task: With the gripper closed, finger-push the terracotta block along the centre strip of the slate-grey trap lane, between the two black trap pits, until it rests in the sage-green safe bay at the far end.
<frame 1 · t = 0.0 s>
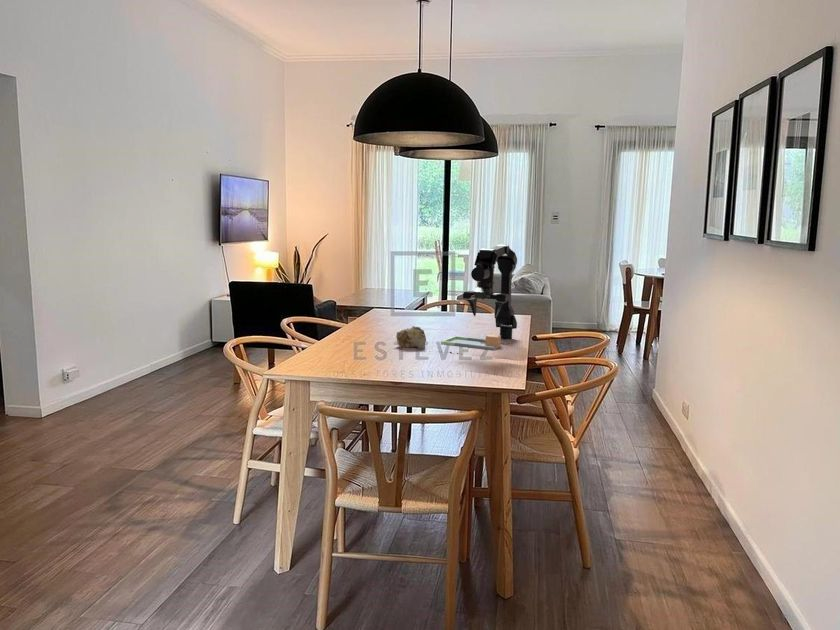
hand: (484, 316, 260), 15 cm above the table, fingers open, 9 cm apart
block: (492, 346, 267), point 1 cm above the table, touching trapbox
rock: (411, 347, 269), on the table
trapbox: (473, 347, 271), on the table
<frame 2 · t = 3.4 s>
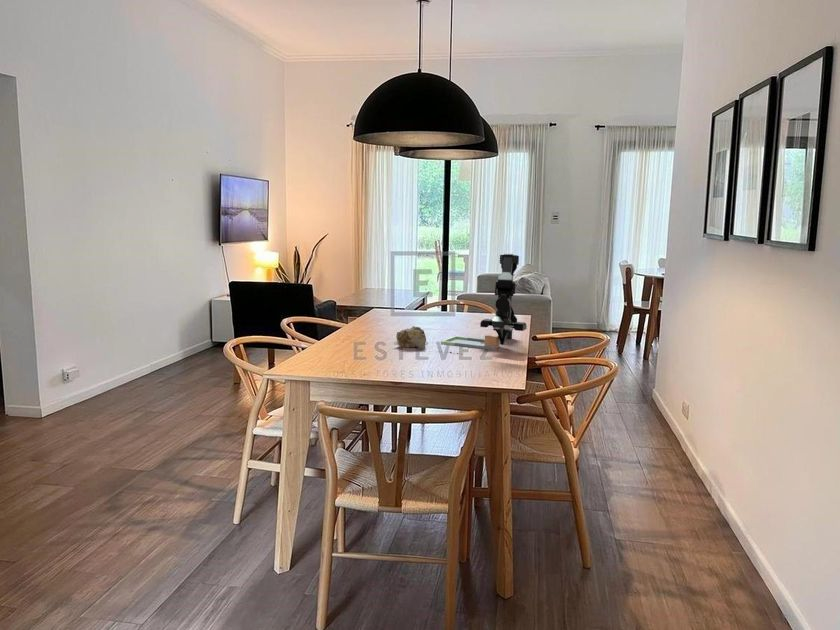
hand: (502, 344, 265), 3 cm above the table, fingers closed
block: (492, 346, 267), point 2 cm above the table, touching gripper, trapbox
everything else where it was.
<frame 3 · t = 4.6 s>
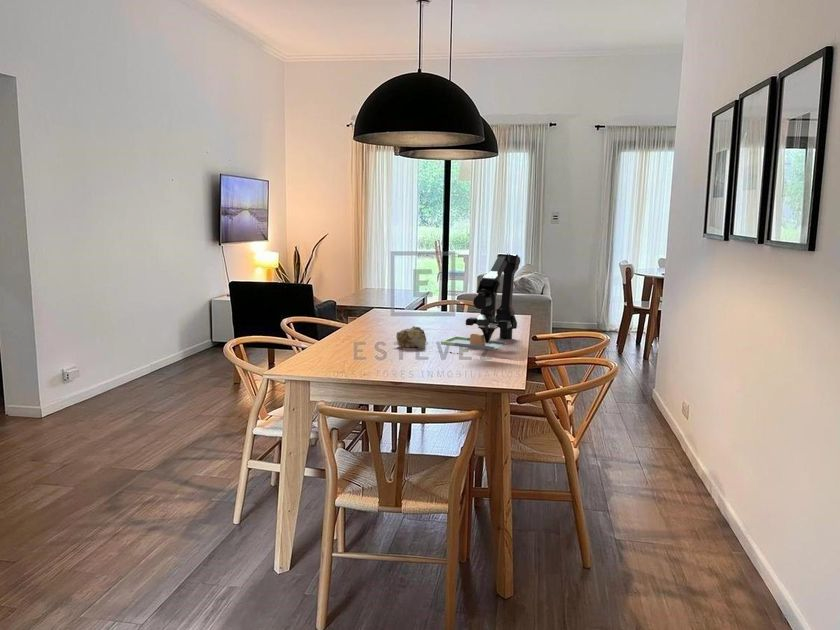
hand: (487, 342, 267), 3 cm above the table, fingers closed
block: (477, 344, 269), point 2 cm above the table, touching gripper, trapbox
everything else where it was.
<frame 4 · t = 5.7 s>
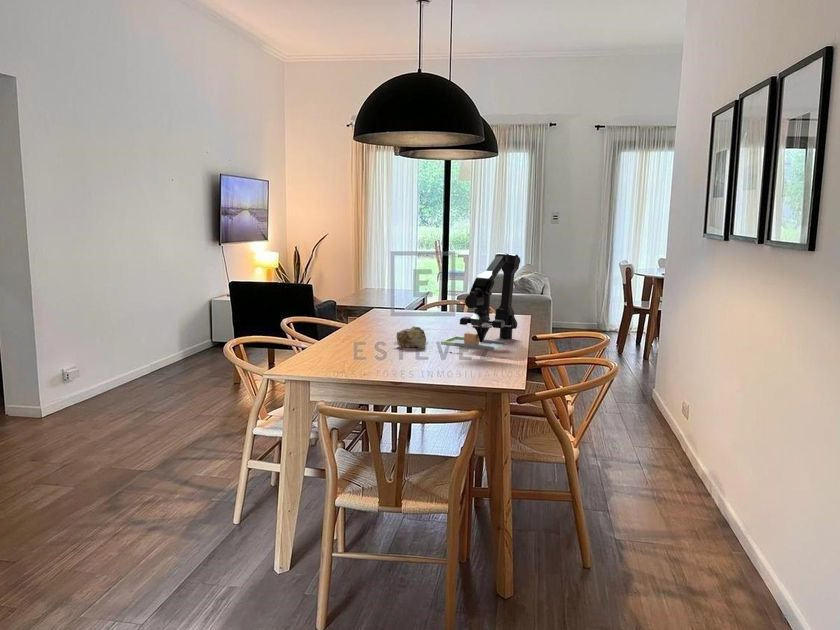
hand: (481, 342, 269), 3 cm above the table, fingers closed
block: (471, 343, 271), point 1 cm above the table, touching gripper, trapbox
everything else where it was.
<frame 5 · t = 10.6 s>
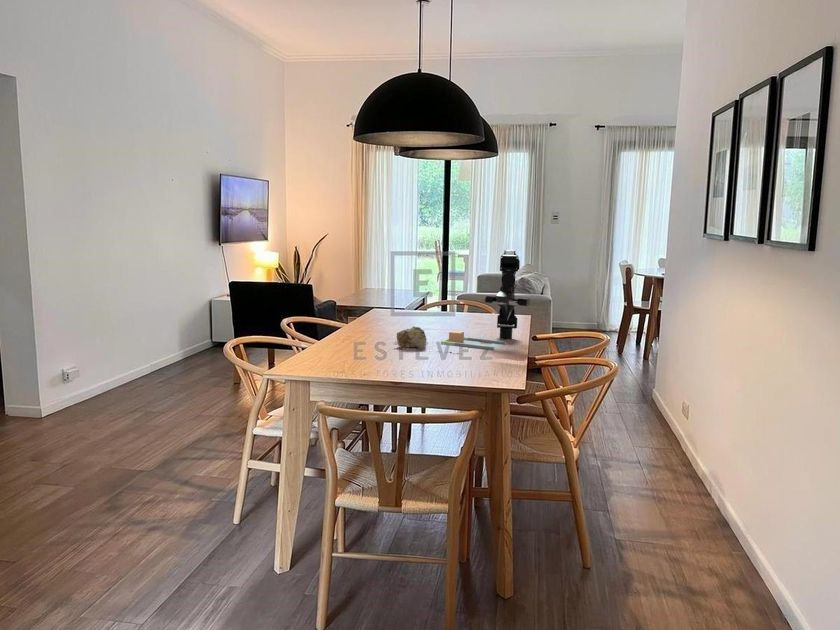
hand: (506, 320, 270), 12 cm above the table, fingers closed
block: (456, 342, 274), point 1 cm above the table, touching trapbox
everything else where it was.
at the end: block inside the target area on the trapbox (0.5 cm from its centre), point 1.5 cm above the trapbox's base; block tilted 0° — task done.
